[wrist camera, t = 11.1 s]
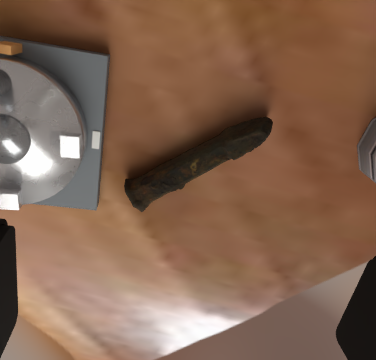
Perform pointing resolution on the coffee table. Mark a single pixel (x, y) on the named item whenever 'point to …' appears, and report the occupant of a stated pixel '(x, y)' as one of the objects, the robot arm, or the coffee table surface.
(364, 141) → the can
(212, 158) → the hand tool
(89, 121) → the gray plinth
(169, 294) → the coffee table surface
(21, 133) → the silver disc
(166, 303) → the coffee table surface
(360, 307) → the robot arm
